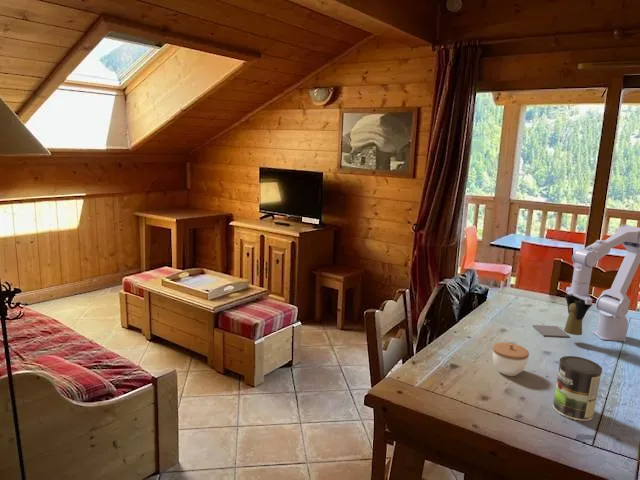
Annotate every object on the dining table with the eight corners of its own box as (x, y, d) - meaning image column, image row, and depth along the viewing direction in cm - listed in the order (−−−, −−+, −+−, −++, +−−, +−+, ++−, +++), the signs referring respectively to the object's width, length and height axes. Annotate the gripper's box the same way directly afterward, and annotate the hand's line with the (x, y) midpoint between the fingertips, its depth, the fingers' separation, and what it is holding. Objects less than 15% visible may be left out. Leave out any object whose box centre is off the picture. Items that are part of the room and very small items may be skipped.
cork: (584, 335, 176) (589, 307, 174) (567, 334, 177) (571, 305, 175) (578, 330, 182) (583, 302, 180) (561, 328, 183) (565, 300, 181)
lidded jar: (503, 381, 148) (507, 353, 146) (483, 365, 158) (486, 338, 156) (533, 378, 151) (537, 350, 149) (511, 362, 161) (514, 336, 159)
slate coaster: (556, 328, 194) (557, 326, 194) (569, 339, 185) (569, 336, 184) (532, 327, 194) (532, 325, 194) (543, 337, 185) (543, 335, 184)
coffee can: (566, 421, 127) (574, 373, 124) (545, 401, 137) (552, 355, 134) (602, 421, 128) (611, 373, 125) (579, 400, 138) (586, 355, 135)
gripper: (560, 275, 183) (555, 309, 185) (580, 287, 168) (574, 323, 171) (578, 276, 183) (573, 309, 185) (600, 287, 168) (594, 324, 171)
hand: (575, 316), depth 178 cm, fingers closed on cork, 5 cm apart
